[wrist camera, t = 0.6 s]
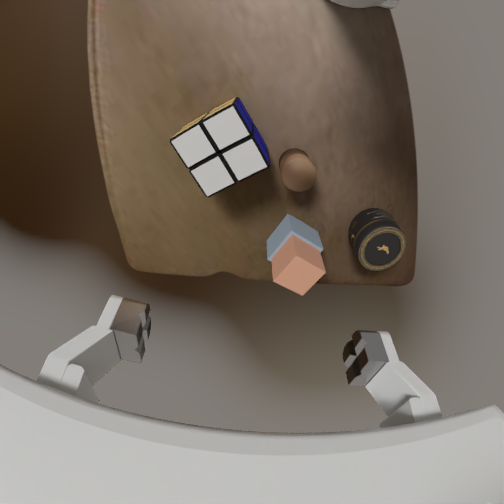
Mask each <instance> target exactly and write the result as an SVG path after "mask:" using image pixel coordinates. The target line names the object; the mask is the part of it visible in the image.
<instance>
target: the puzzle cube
mask: <svg viewBox="0 0 504 504" xmlns="http://www.w3.org/2000/svg"><path fill="white" fill-rule="evenodd" d="M170 143H171V145H172V146H173V148H174V149H175V151H176V152H177V154H178V155H179V157H180V159H181V160H182V162H183V163H184V165H185V166H186V168H189V169H190V170H189V172H190V174H191V175H192V177H193V178H194V180H195V181H196V183H197V184H198V186H199V187H200V189H201V190H202V192H203V193H204V195H205V196H206V197H211V196H212V195H214V194H216V193H218V192H220V191H222V190H224V189H226V188H228V187H230V186H232V185H234V184H236V181H239V182H241V181H243V180H245V179H247V178H249V177H251V176H253V175H255V174H257V173H259V172H261V171H263V170H265V169H267V168H269V165H270V164H269V157H268V151H267V146H266V144H265V142H264V141H263V139H262V137H261V135H260V133H259V132H258V130H257V128H256V126H255V124H252V119H251V117H250V116H249V114H248V112H247V110H246V109H245V107H244V105H243V104H242V102H241V100H240V99H239V98H238V97H235V98H233V99H231V100H230V101H228V102H226V103H224V104H222V105H220V106H218V107H217V108H215V109H213V110H212V111H211V112H208V113H206V114H204V115H202V116H201V117H199V118H197V119H196V120H194V121H192V122H191V123H189V124H187V125H186V126H184V127H183V128H182V129H181V130H180V131H179V132H178V133H177V134H175V135H174V136H173V137H172V138H171V139H170Z"/></svg>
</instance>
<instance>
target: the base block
mask: <svg viewBox="0 0 504 504" xmlns="http://www.w3.org/2000/svg"><path fill="white" fill-rule="evenodd" d="M292 234H293V235H295V236H296V237H298V238H300V239H301V240H303V241H305V242H306V243H308V244H310V245H311V246H313V247H315V248H316V249H318V250H320V253H321V252H322V251H323V246H322V243H321V240H320V237H319V234H318V231H316V230H314V229H313V228H311V227H310V226H308V225H306V224H305V223H303V222H301V221H300V220H298V219H296V218H295V217H293V216H291V215H290V214H287V215H286V217H285V218H284V219H283V221H282V222H281V223H280V224H279V226H278V227H277V228H276V229H275V231H274V232H273V233H272V235H271V236H270V237H269V238H268V240H267V257H268V260H269V261H271V262H272V257H273V256H274V255H275V254H276V253H277V252H278V250H279V249H280V248H281V247H282V246H283V244H284V243H285V242H286V241H287V240H288V238H289V237H290V236H291V235H292Z"/></svg>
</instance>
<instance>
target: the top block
mask: <svg viewBox="0 0 504 504" xmlns="http://www.w3.org/2000/svg"><path fill="white" fill-rule="evenodd" d="M272 273H273V281H274V282H276V283H278V284H280V285H282V286H284V287H286V288H288V289H290V290H292V291H294V292H296V293H298V294H300V295H304V294H305V293H306V292H307V290H309V289H310V288H311V287H312V286H313V285H314V284H315V283H316V282H317V281H318V280H319V279H320V278H321V277H322V276H323V275H324V274H325V273H326V271H325V267H324V264H323V260H322V257H321V254H320V250H318V249H316V248H315V247H313V246H311V245H310V244H308V243H306V242H305V241H303V240H301V239H300V238H298V237H296V236H295V235H293V234H292V235H291V236H290V237H289V238H288V240H287V241H286V242H285V243H284V244H283V246H282V247H281V248H280V249H279V250H278V252H277V253H276V254H275V255H274V256H273V257H272Z"/></svg>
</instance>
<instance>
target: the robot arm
mask: <svg viewBox="0 0 504 504" xmlns="http://www.w3.org/2000/svg"><path fill="white" fill-rule="evenodd" d="M330 1H332V2H334V3H336V4H339V5H342V6H346V7H351V8H366V7H371V6H379V7H383V8H388V9H392V8H394V7H395V6H396V5H397V3H398V1H399V0H330ZM149 312H150V304H149V303H145V302H141V301H137V300H133V299H128V298H123V297H119V296H115V295H112V296H111V297H110V298H109V300H108V303H107V304H106V307H105V309H104V311H103V313H102V315H101V317H100V319H99V321H98V323H97V326H91V327H90V328H88V329H87V330H85V331H84V332H82V333H81V334H79V335H77V336H76V337H74V338H73V339H71V340H70V341H68V342H67V343H65V344H64V345H62V346H61V347H59V348H58V349H56V350H55V351H53V352H52V353H50V354H49V355H48V358H47V359H46V362H45V364H44V366H43V368H42V370H41V373H40V375H39V377H38V380H37V381H35V380H32V379H30V378H28V377H26V376H23V375H21V374H19V373H17V372H15V371H12V370H11V369H9V368H6V367H5V366H3V365H1V364H0V504H504V413H503V412H502V411H501V410H500V409H499V408H497V407H496V406H495V405H493V404H489V405H485V406H482V407H479V408H475V409H472V410H468V411H465V412H461V413H457V414H453V415H449V416H445V417H442V414H441V411H440V408H439V405H438V402H437V399H436V396H435V394H434V393H433V392H432V391H431V390H430V389H429V388H428V387H427V386H426V385H425V384H424V383H423V382H422V381H421V380H420V379H419V378H418V377H417V376H416V375H415V374H414V373H413V372H412V371H411V370H410V369H409V368H408V367H407V366H406V365H405V364H404V363H403V362H399V359H398V356H397V353H396V350H395V347H394V345H393V342H392V339H391V337H390V334H389V333H388V332H378V331H362V330H357V331H355V332H354V333H353V335H352V340H351V341H349V342H347V344H346V346H345V347H344V350H343V361H344V364H345V365H346V366H347V368H348V369H347V371H346V376H347V380H348V385H354V386H358V385H359V386H360V385H361V386H365V387H366V388H367V389H368V391H369V392H370V393H371V395H372V396H373V397H374V399H375V400H376V401H377V403H378V404H379V405H380V407H381V408H382V409H383V411H384V412H385V413H386V415H387V416H388V417H387V418H386V419H385V420H383V421H382V422H381V423H380V425H379V426H380V428H375V429H366V430H355V431H341V432H319V433H278V432H277V433H276V432H256V431H241V430H231V429H221V428H213V427H204V426H198V425H191V424H185V423H179V422H173V421H168V420H162V419H157V418H153V417H148V416H143V415H139V414H135V413H131V412H127V411H123V410H119V409H116V408H112V407H108V406H104V405H101V404H99V401H100V400H99V399H98V396H97V395H96V393H95V391H94V389H93V387H92V386H93V385H94V384H95V383H96V382H98V381H99V380H100V379H101V378H102V377H103V376H104V375H105V374H106V373H108V372H109V371H110V370H111V369H112V368H113V367H114V366H115V365H116V364H117V363H118V362H120V361H121V359H122V360H127V361H132V362H137V363H142V359H143V356H144V353H145V344H144V343H145V342H147V341H148V339H149V335H150V330H151V317H150V316H149Z"/></svg>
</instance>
